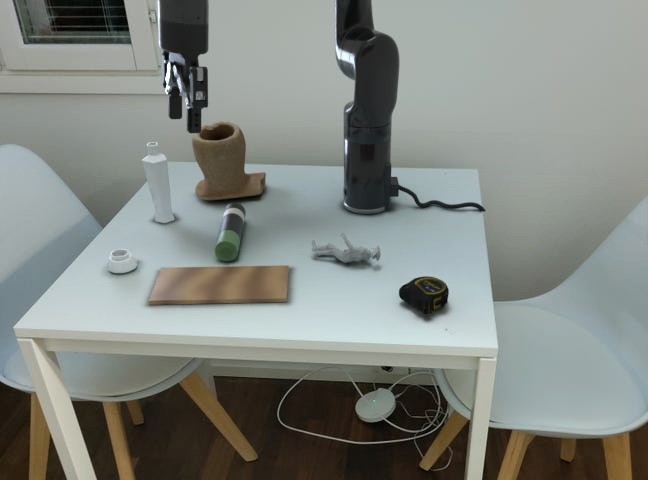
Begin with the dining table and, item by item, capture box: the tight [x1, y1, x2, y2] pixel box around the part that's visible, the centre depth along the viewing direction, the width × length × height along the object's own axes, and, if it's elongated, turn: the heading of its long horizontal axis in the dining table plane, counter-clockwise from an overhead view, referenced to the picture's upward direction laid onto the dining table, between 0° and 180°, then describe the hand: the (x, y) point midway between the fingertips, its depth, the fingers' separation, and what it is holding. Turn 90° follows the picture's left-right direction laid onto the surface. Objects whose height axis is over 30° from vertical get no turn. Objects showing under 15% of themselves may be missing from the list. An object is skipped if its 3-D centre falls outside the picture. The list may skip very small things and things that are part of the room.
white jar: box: [106, 248, 138, 274], centre depth 121 cm, size 5×3×5 cm
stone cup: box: [191, 121, 267, 201], centre depth 143 cm, size 15×12×15 cm
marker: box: [214, 202, 247, 262], centre depth 130 cm, size 18×4×4 cm, turn 2°
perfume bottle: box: [141, 141, 176, 224], centre depth 134 cm, size 5×4×15 cm
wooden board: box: [148, 265, 290, 306], centre depth 117 cm, size 22×11×1 cm, turn 92°
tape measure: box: [398, 275, 450, 316], centre depth 111 cm, size 7×7×4 cm
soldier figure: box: [311, 232, 382, 264], centre depth 123 cm, size 8×5×12 cm
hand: (184, 125), depth 116 cm, fingers open, 8 cm apart
